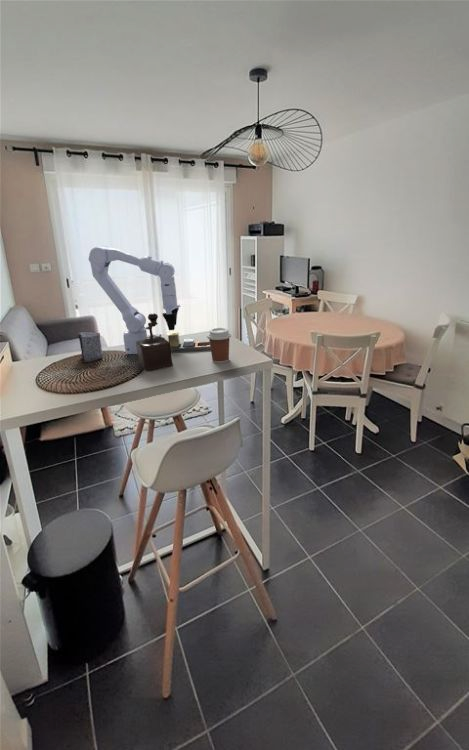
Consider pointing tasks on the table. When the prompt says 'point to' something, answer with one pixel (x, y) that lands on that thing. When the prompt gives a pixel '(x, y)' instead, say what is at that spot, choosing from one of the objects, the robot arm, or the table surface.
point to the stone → (90, 346)
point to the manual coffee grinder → (154, 349)
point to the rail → (197, 347)
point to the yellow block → (174, 340)
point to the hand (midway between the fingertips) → (172, 327)
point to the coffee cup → (219, 344)
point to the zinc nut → (189, 342)
